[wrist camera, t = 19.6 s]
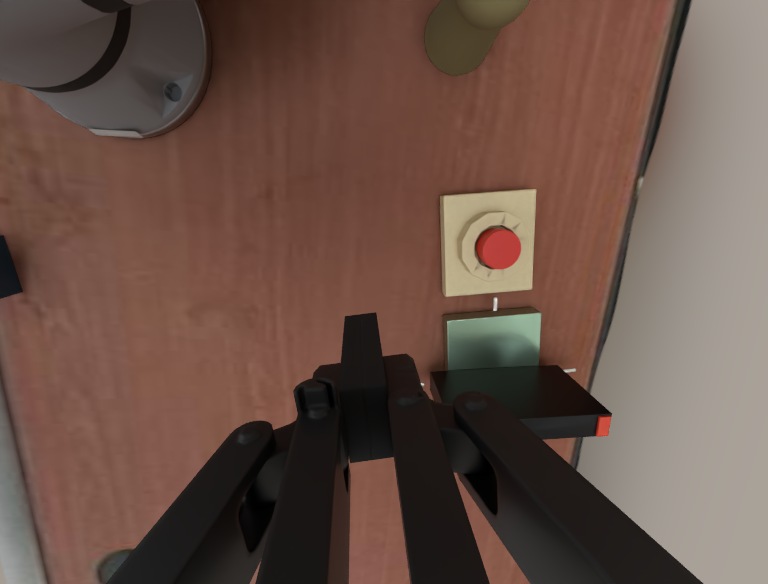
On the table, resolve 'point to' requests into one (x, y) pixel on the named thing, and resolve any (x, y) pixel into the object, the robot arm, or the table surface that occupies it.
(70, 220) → the table surface
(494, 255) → the red push button
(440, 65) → the olive pawn
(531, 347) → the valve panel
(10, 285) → the watch
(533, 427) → the black panel
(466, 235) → the button box
